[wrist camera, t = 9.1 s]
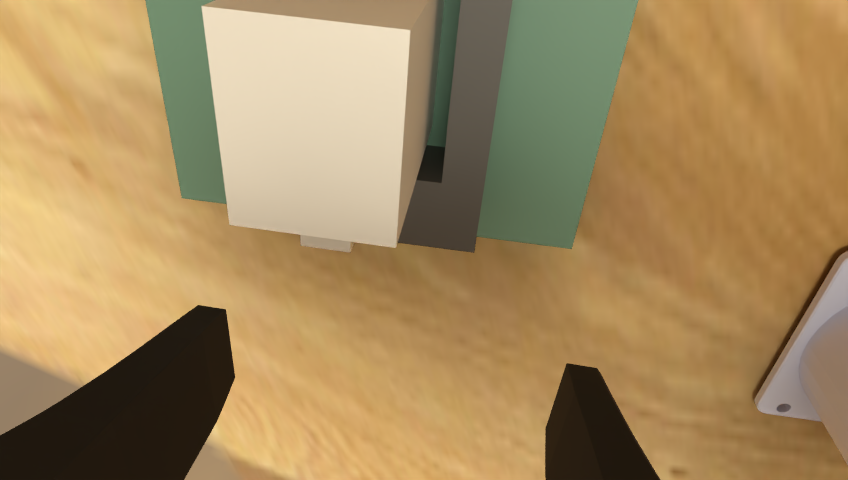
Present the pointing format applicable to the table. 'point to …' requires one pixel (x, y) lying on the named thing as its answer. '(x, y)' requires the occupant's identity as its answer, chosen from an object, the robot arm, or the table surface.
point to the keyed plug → (323, 113)
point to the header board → (455, 115)
